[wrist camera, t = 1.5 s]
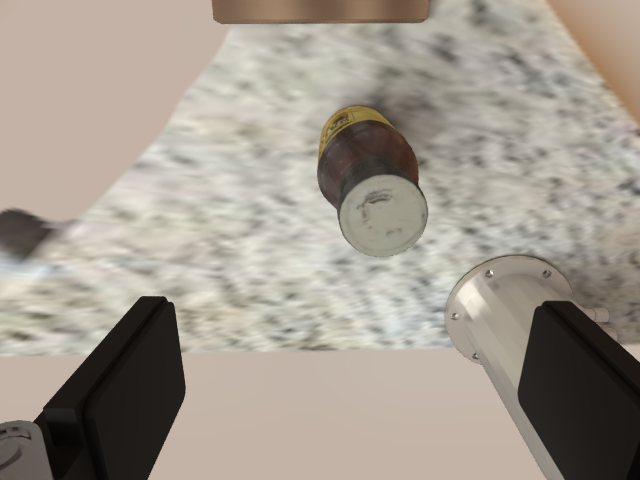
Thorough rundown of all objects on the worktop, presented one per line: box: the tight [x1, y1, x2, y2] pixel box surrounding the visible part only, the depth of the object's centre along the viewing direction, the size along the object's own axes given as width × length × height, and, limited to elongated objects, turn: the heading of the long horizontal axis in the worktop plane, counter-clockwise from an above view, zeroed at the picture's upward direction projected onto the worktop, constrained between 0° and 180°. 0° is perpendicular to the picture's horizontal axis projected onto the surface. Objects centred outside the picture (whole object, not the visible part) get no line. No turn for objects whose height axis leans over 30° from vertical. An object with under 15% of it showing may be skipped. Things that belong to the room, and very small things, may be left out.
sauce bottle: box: [317, 106, 428, 257], centre depth 27 cm, size 7×6×20 cm
